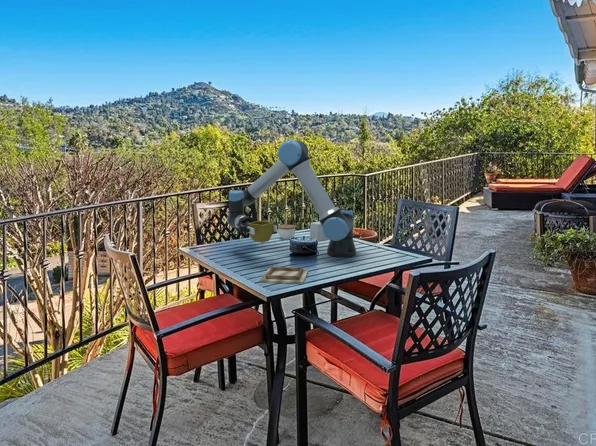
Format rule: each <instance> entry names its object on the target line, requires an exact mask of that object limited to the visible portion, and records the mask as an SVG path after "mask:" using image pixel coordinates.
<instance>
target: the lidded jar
mask: <svg viewBox="0 0 596 446" xmlns="http://www.w3.org/2000/svg"><path fill="white" fill-rule="evenodd" d="M277 233H278V235H279V237H280V238H281V239H282V240H284V241H285V240H287V241H288V240H291V239H290V238H292V239H293V238H294V236H295V234H296V225H294V224H289V223H287V222H286V223H285V224H280V225H277Z"/></svg>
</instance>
